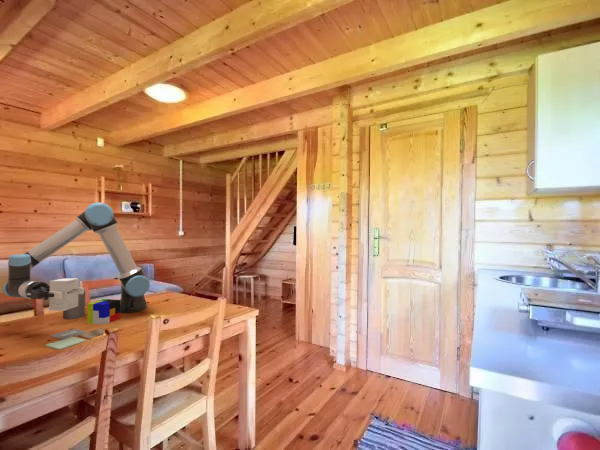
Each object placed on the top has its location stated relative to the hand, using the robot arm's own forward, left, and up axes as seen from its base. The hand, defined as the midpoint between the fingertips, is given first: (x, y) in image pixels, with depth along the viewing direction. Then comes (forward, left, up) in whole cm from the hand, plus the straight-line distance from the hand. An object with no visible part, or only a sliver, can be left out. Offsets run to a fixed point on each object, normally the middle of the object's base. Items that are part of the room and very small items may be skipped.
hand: (72, 293), depth 130 cm
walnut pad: (-9, +2, -20) cm, 22 cm away
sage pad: (+3, +2, -20) cm, 20 cm away
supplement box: (+1, -5, -7) cm, 9 cm away
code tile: (-4, -9, -20) cm, 22 cm away
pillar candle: (-21, -36, -20) cm, 46 cm away
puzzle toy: (-23, -14, -20) cm, 34 cm away
